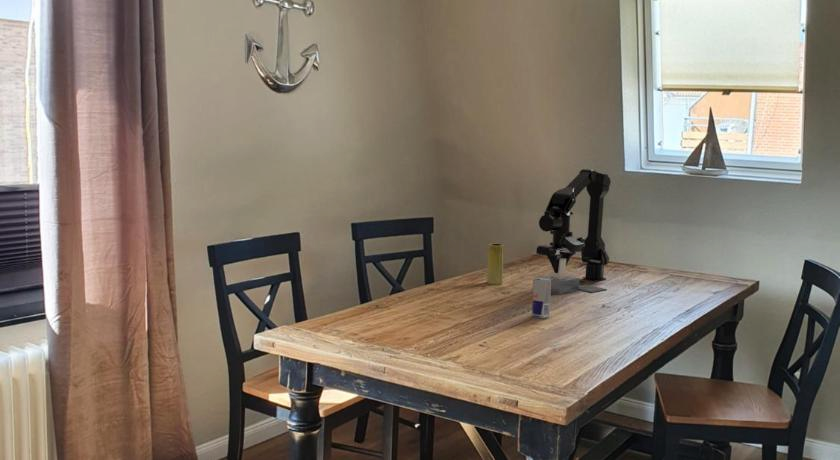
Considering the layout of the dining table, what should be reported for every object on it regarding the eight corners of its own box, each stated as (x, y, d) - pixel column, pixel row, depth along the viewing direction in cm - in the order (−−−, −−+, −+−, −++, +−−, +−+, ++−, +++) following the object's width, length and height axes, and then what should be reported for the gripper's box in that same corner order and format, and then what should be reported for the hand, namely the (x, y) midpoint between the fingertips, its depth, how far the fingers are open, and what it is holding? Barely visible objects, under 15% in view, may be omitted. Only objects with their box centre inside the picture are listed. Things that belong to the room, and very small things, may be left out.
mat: (589, 286, 310) (589, 285, 310) (606, 290, 304) (606, 289, 304) (574, 288, 305) (574, 287, 305) (591, 293, 299) (591, 291, 299)
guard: (557, 285, 310) (558, 273, 309) (579, 290, 302) (579, 278, 302) (538, 289, 304) (538, 276, 303) (559, 294, 296) (560, 281, 295)
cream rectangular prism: (559, 279, 305) (559, 257, 303) (565, 281, 302) (566, 258, 301) (553, 280, 303) (554, 258, 302) (559, 282, 300) (560, 259, 299)
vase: (503, 281, 315) (504, 243, 313) (503, 285, 309) (504, 246, 307) (486, 281, 316) (487, 242, 314) (486, 284, 310) (487, 245, 308)
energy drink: (530, 314, 267) (531, 276, 265) (547, 314, 268) (548, 276, 266) (534, 318, 262) (535, 280, 260) (551, 318, 262) (553, 280, 261)
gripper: (560, 233, 288) (558, 279, 290) (596, 229, 299) (594, 273, 302) (536, 229, 296) (534, 274, 299) (572, 225, 308) (570, 268, 310)
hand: (559, 272), depth 302 cm, fingers closed on cream rectangular prism, 3 cm apart
